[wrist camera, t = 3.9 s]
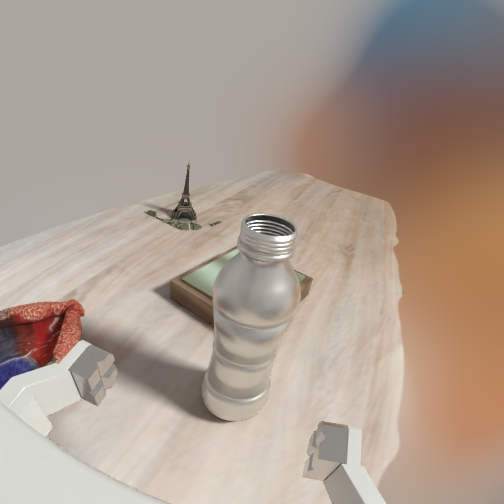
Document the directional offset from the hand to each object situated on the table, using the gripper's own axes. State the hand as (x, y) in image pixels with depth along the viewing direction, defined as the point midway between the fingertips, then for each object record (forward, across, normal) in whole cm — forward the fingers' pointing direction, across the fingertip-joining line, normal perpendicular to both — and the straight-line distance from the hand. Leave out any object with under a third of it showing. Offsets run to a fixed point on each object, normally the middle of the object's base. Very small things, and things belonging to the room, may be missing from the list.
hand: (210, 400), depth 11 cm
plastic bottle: (+12, -1, -18) cm, 22 cm away
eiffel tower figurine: (+52, -24, -19) cm, 61 cm away
